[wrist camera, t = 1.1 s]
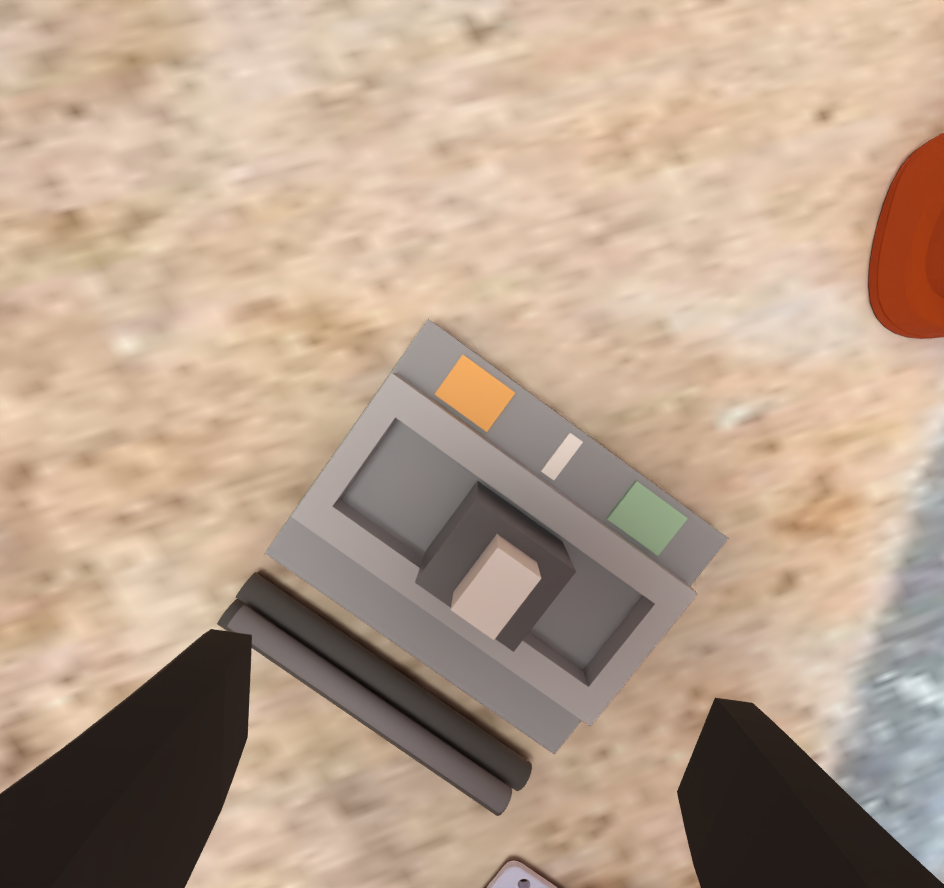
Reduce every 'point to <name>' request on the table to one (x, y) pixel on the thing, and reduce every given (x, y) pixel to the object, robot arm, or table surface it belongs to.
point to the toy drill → (912, 248)
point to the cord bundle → (385, 685)
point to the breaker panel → (531, 492)
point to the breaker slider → (495, 567)
